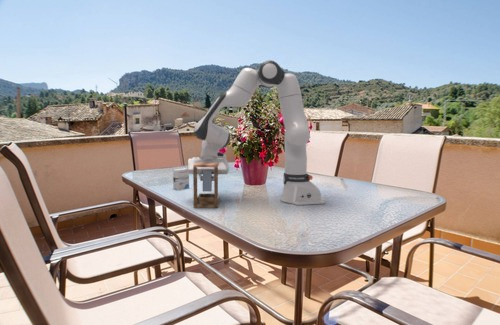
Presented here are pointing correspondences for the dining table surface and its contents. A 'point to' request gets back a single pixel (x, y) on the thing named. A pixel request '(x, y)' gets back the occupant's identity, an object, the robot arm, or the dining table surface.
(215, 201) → the wooden frame stand
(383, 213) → the dining table surface
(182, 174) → the ink box
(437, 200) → the dining table surface
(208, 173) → the peg
